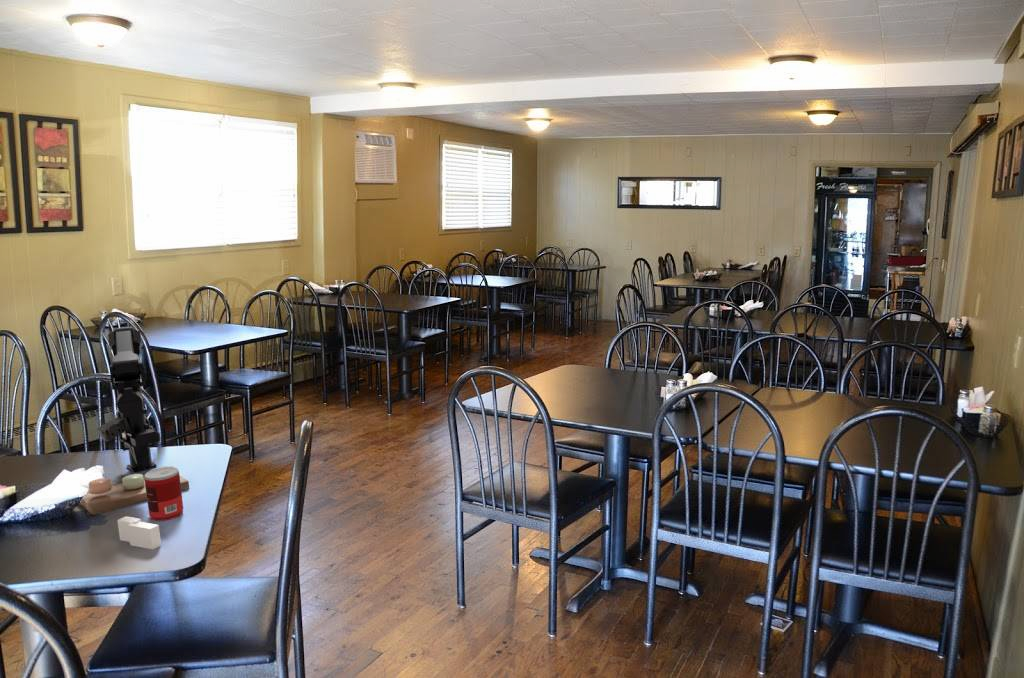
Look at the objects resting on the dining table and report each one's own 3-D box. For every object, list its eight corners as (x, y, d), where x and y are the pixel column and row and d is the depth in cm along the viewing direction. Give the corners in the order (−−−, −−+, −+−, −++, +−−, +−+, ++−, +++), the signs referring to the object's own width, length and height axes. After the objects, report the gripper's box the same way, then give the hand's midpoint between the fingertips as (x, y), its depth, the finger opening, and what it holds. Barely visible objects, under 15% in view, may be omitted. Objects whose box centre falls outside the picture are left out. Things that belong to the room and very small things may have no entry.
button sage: (120, 487, 213) (119, 477, 212) (140, 482, 216) (139, 472, 216) (127, 492, 209) (125, 482, 209) (147, 487, 213) (145, 477, 212)
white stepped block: (171, 549, 181) (168, 525, 180) (115, 562, 175) (111, 537, 174) (165, 526, 194) (162, 503, 193) (112, 537, 189) (109, 514, 187)
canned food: (189, 508, 203) (184, 466, 201) (173, 521, 195) (168, 478, 193) (160, 508, 204) (155, 466, 202) (143, 521, 196) (137, 478, 194)
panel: (78, 502, 210) (77, 495, 209) (172, 477, 225) (171, 470, 225) (92, 514, 201) (91, 507, 201) (189, 488, 217) (188, 481, 216)
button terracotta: (87, 492, 207) (86, 482, 207) (108, 486, 211) (106, 476, 210) (93, 497, 204) (91, 486, 203) (114, 491, 207) (112, 481, 207)
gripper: (86, 407, 211) (94, 464, 214) (111, 419, 198) (119, 480, 201) (130, 398, 218) (137, 453, 221) (157, 409, 205) (165, 468, 208)
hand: (138, 463), depth 213 cm, fingers closed
